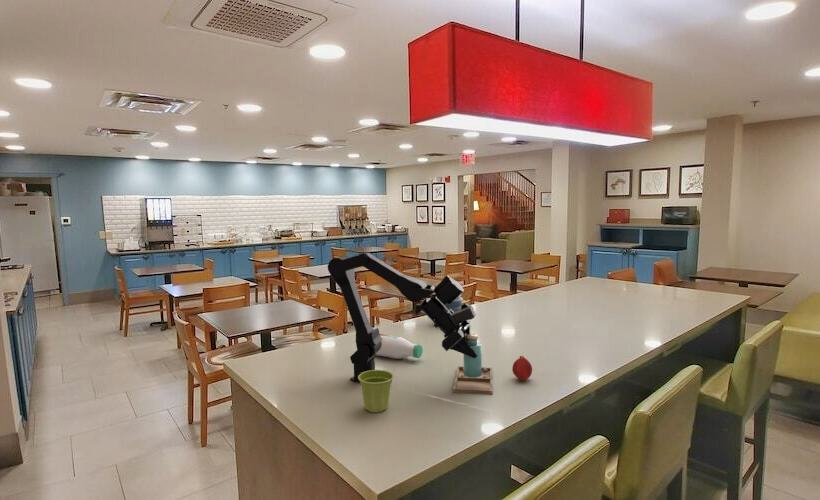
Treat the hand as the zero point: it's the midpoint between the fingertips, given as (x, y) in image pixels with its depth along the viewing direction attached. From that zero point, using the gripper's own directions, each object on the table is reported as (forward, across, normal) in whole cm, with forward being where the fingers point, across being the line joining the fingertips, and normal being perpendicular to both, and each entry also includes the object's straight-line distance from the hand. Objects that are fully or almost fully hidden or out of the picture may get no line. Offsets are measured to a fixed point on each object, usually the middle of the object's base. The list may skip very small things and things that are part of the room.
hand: (477, 354), depth 127 cm
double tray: (+6, +5, +8) cm, 11 cm away
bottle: (+3, 0, +5) cm, 6 cm away
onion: (+16, +9, -2) cm, 19 cm away
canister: (-7, +73, +22) cm, 77 cm away
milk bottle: (-25, +25, +34) cm, 49 cm away
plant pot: (-10, -19, +25) cm, 32 cm away
